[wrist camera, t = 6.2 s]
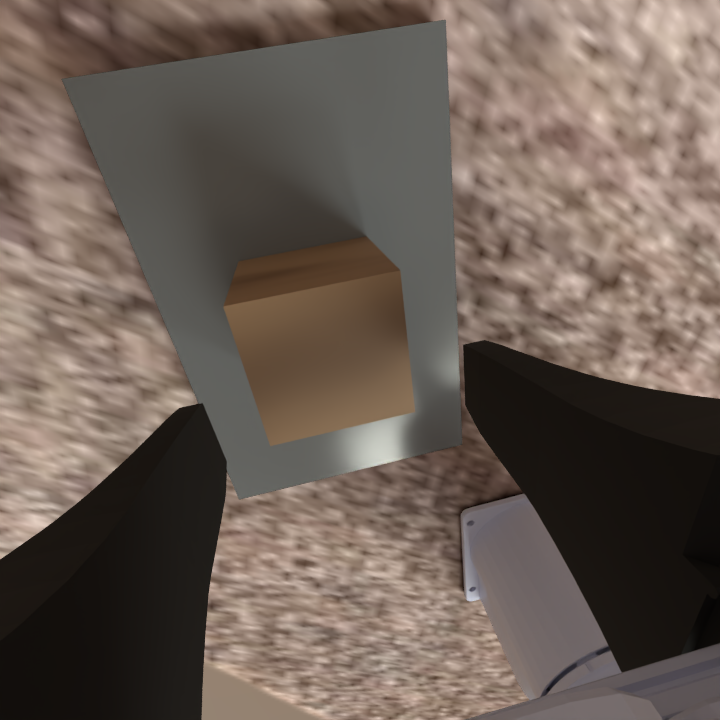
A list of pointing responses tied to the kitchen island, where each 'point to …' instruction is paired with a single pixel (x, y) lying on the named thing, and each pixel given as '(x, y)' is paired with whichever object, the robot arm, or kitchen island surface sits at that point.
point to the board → (289, 214)
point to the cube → (322, 338)
